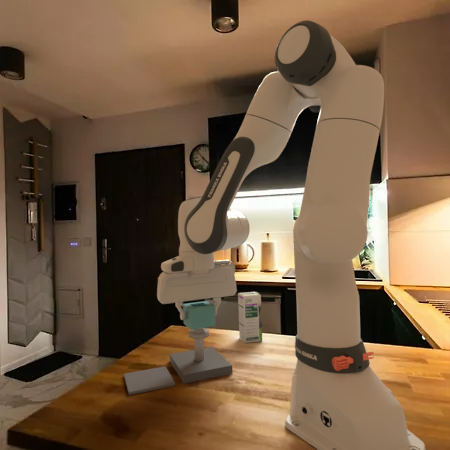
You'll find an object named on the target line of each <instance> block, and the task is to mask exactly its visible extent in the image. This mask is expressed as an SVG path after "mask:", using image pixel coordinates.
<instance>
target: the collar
mask: <svg viewBox="0 0 450 450" xmlns="http://www.w3.org/2000/svg"><path fill="white" fill-rule="evenodd" d="M182 310H183V311H186V312H188V315H187V317H188V319H186V320H183V325H185V326H186V327H187V328H188V329H189V331H190V330H194V329H200V328H203V329H207V328H213V327H217V326H216V325H217V322H216V319H217V318H216V315H215V305H214V303H211V302H210V301H206V300H202V301H197V302H196V301H195V302H189V303H188V302H187V303H183V306H182Z"/></svg>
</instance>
